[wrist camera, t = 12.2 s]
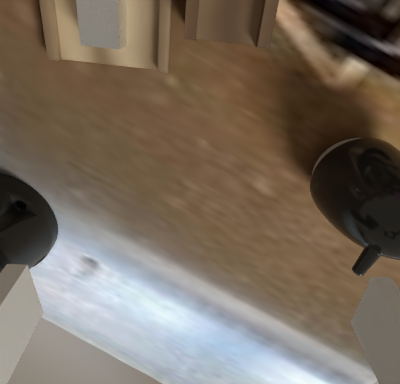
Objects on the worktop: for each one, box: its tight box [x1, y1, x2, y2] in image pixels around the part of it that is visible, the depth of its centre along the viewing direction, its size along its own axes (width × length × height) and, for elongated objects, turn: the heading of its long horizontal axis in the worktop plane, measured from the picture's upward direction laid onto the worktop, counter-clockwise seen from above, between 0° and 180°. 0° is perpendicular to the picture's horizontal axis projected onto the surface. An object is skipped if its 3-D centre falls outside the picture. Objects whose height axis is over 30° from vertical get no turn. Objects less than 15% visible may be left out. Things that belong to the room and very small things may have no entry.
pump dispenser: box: [310, 138, 400, 276], centre depth 32 cm, size 10×10×15 cm
